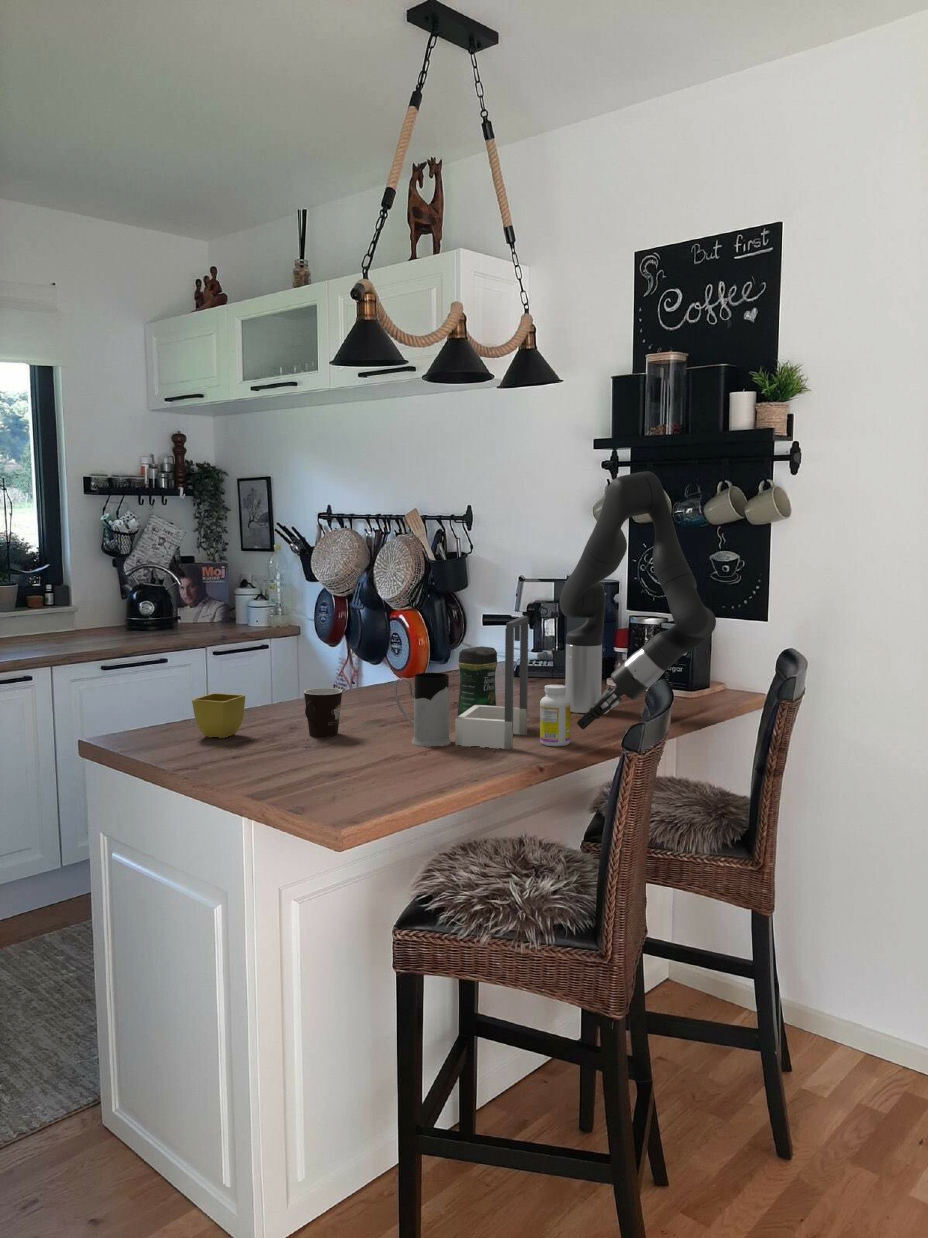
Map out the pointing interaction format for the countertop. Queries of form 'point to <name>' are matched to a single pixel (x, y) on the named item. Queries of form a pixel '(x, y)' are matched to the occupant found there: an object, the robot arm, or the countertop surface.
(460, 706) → the coffee jar
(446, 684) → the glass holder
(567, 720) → the supplement bottle
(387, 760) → the countertop surface
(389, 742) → the countertop surface
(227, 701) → the flower pot
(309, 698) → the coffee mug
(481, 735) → the bay
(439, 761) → the countertop surface
